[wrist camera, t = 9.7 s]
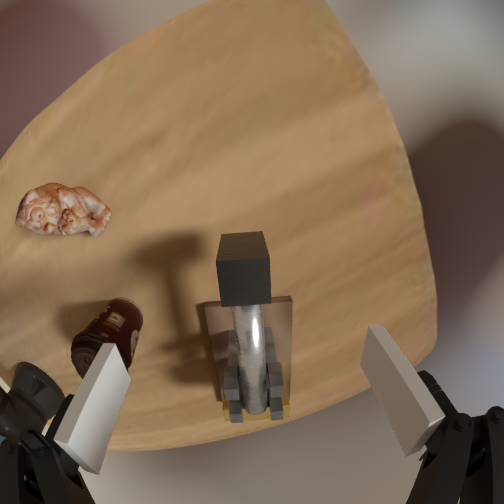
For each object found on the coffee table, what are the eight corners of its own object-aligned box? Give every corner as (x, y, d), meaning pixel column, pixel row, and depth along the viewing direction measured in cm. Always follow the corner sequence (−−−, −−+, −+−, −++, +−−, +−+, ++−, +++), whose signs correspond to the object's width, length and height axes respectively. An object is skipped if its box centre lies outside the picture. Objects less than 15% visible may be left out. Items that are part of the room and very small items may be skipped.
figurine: (109, 233, 34) (47, 280, 20) (71, 202, 32) (0, 233, 18) (130, 197, 32) (66, 229, 18) (90, 165, 31) (16, 180, 17)
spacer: (226, 378, 42) (225, 421, 33) (224, 366, 41) (222, 409, 32) (281, 374, 42) (289, 416, 33) (281, 361, 41) (289, 404, 32)
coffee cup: (162, 317, 39) (138, 378, 27) (136, 345, 41) (111, 403, 29) (117, 280, 36) (76, 332, 24) (94, 312, 38) (57, 364, 26)
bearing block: (224, 400, 46) (222, 457, 34) (205, 301, 38) (192, 365, 26) (288, 395, 46) (298, 452, 34) (290, 295, 38) (310, 357, 26)
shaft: (240, 388, 35) (240, 428, 28) (221, 234, 27) (215, 261, 20) (269, 386, 35) (273, 426, 28) (262, 231, 27) (269, 257, 21)
